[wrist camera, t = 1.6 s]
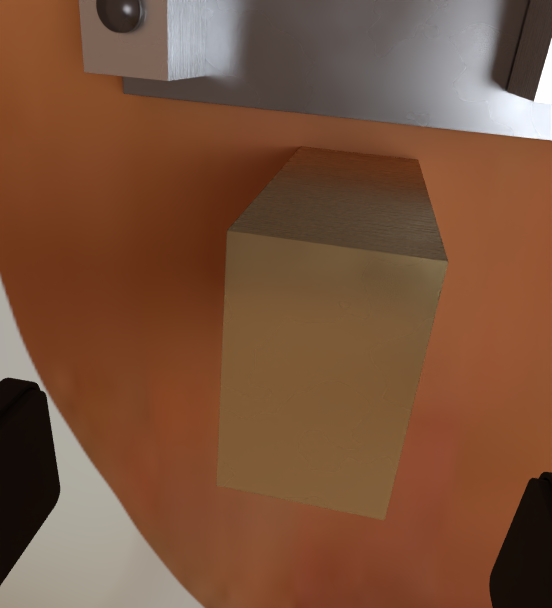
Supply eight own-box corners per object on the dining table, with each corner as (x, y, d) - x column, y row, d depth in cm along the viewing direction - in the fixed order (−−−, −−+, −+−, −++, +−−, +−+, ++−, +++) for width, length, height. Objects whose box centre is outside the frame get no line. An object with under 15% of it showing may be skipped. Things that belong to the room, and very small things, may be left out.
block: (418, 160, 22) (448, 261, 11) (385, 325, 26) (384, 520, 15) (301, 146, 23) (227, 230, 12) (284, 309, 26) (216, 485, 16)
